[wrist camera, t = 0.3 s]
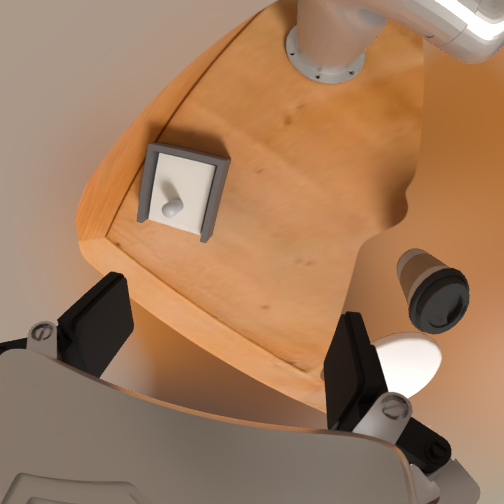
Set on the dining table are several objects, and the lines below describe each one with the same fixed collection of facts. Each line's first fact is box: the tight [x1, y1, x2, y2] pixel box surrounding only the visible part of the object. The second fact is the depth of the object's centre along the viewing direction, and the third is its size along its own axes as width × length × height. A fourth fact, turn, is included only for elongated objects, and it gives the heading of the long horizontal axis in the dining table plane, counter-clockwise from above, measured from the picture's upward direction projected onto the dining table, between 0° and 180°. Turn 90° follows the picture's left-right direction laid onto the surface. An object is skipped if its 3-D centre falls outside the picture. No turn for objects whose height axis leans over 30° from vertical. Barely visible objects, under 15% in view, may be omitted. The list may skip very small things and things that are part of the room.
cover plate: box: [149, 152, 217, 235], centre depth 42 cm, size 12×10×5 cm
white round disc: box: [370, 332, 442, 398], centre depth 53 cm, size 28×6×27 cm
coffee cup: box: [397, 249, 469, 334], centre depth 38 cm, size 11×11×15 cm
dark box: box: [137, 142, 231, 243], centre depth 43 cm, size 14×13×4 cm
